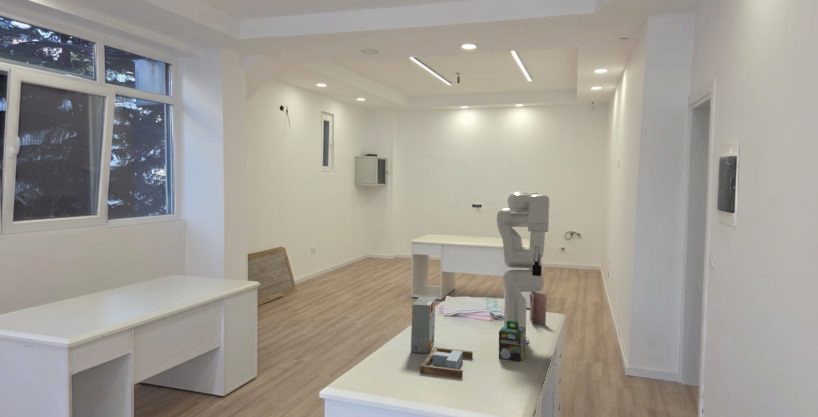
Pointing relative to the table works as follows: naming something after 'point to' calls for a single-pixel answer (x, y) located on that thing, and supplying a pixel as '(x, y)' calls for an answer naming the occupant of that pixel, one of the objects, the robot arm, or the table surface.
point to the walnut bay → (443, 371)
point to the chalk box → (512, 342)
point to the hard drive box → (423, 325)
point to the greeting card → (538, 307)
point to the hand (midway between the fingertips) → (536, 275)
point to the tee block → (448, 359)
